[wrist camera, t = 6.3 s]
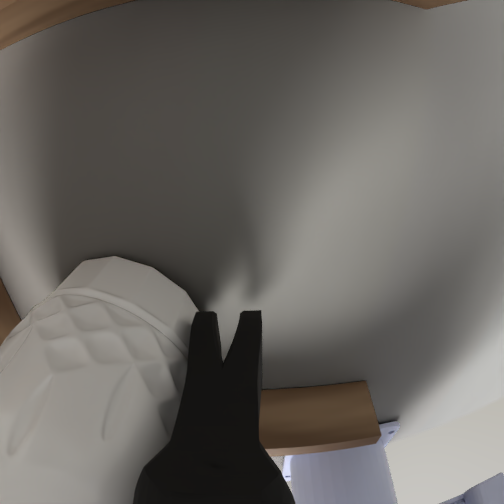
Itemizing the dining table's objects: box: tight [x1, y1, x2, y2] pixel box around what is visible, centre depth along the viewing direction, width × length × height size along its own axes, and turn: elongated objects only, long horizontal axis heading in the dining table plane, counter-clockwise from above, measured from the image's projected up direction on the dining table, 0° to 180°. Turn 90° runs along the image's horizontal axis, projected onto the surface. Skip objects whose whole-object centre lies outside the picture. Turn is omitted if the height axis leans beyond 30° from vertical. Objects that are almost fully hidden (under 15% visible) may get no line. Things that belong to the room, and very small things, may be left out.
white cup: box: [0, 256, 199, 504], centre depth 8 cm, size 8×8×10 cm
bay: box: [0, 0, 467, 457], centre depth 9 cm, size 19×19×4 cm
